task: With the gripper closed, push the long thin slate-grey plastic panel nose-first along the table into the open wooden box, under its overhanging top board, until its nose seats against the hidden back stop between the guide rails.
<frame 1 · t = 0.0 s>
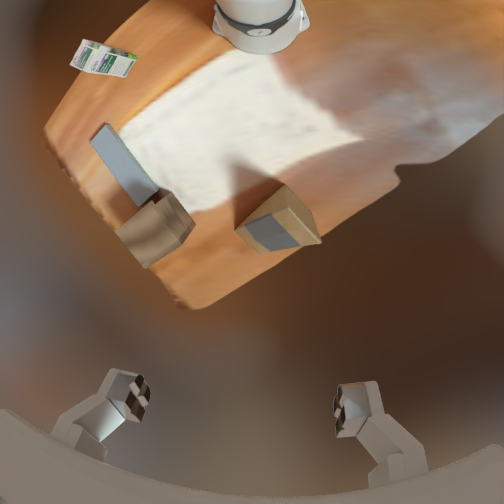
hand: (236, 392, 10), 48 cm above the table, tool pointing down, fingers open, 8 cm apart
open wooden box: (159, 211, 58), on the table
syrup box: (123, 63, 43), on the table
panel: (125, 163, 54), on the table
sandwich container: (271, 220, 58), on the table
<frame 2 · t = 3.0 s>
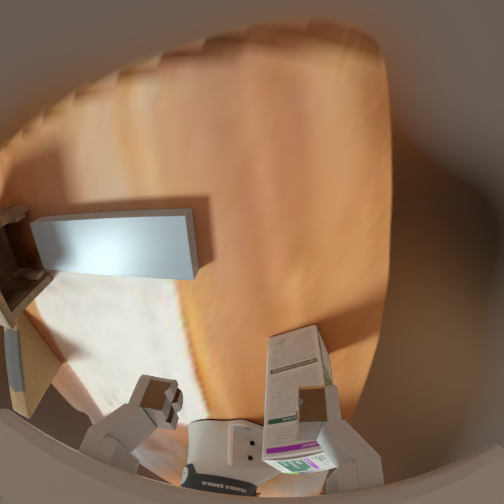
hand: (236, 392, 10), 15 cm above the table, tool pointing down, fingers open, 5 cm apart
open wooden box: (30, 244, 26), on the table
syrup box: (300, 344, 29), on the table
panel: (107, 237, 25), on the table
sandwich container: (31, 333, 37), on the table
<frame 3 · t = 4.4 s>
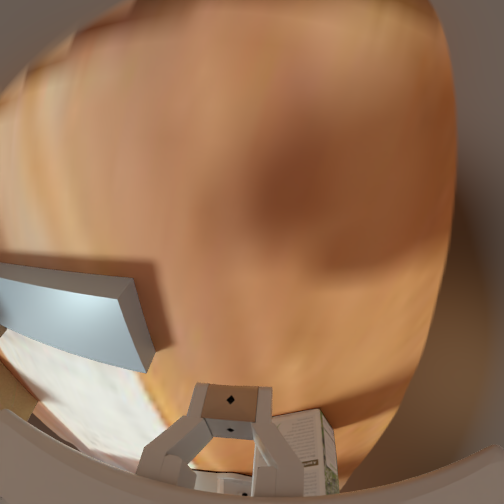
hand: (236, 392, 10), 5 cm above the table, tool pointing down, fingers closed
syrup box: (298, 423, 20), on the table
panel: (43, 296, 16), on the table
sandwich container: (4, 369, 28), on the table
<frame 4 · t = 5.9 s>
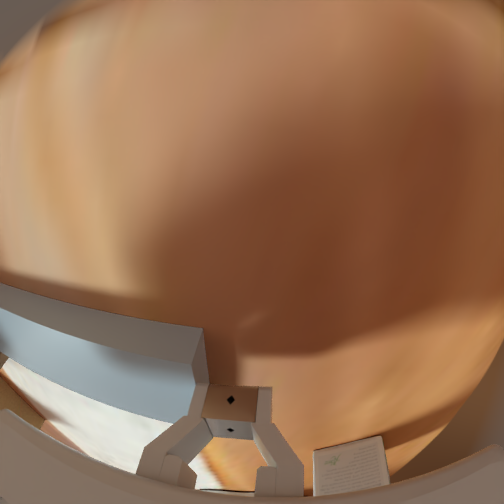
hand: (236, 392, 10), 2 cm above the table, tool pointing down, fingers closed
syrup box: (352, 449, 17), on the table
panel: (58, 328, 13), on the table, touching gripper
sandwich container: (6, 385, 24), on the table
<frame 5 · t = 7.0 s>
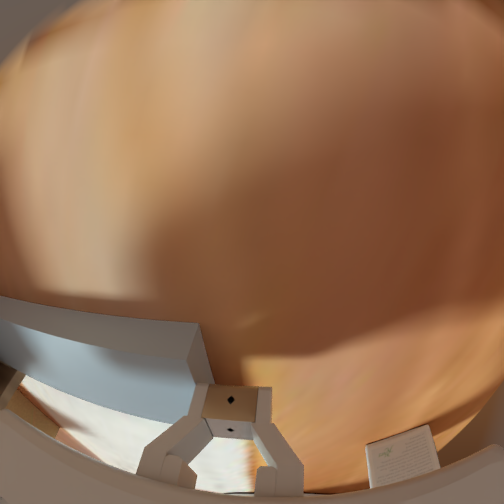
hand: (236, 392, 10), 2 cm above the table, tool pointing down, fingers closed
syrup box: (397, 441, 16), on the table
panel: (63, 338, 13), on the table, touching gripper
sandwich container: (16, 391, 24), on the table
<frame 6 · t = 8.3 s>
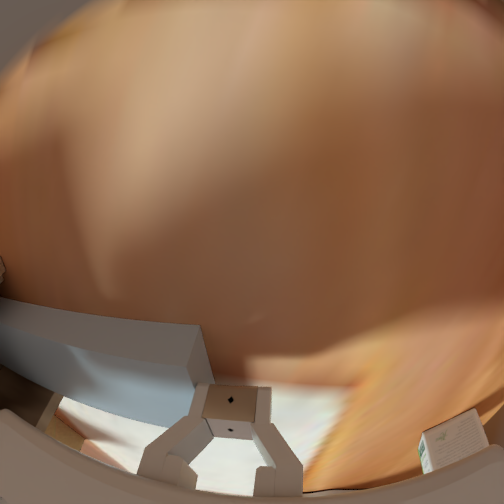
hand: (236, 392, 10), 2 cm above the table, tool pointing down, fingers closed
open wooden box: (21, 325, 13), on the table
syrup box: (445, 427, 16), on the table
panel: (62, 341, 13), on the table
sandwich container: (35, 402, 23), on the table
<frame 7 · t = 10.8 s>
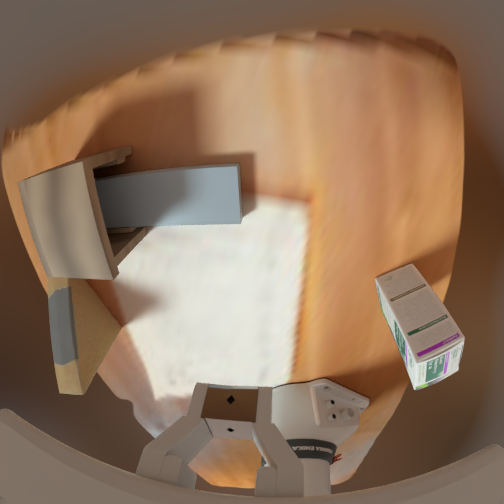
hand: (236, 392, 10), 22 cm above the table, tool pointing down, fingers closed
open wooden box: (124, 193, 29), on the table
syrup box: (396, 284, 32), on the table
panel: (156, 194, 30), on the table
sandwich container: (83, 297, 39), on the table
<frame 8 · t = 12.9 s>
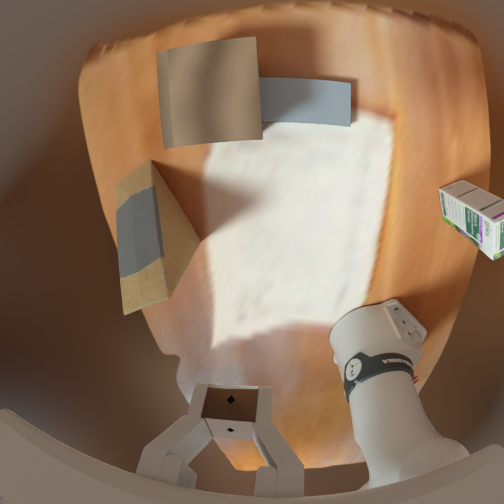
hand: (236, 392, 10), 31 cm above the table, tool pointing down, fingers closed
open wooden box: (241, 96, 31), on the table
syrup box: (452, 198, 34), on the table
panel: (272, 100, 32), on the table
sandwich container: (157, 211, 41), on the table
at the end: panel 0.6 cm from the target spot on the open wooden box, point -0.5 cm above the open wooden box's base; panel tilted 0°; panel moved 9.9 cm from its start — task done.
